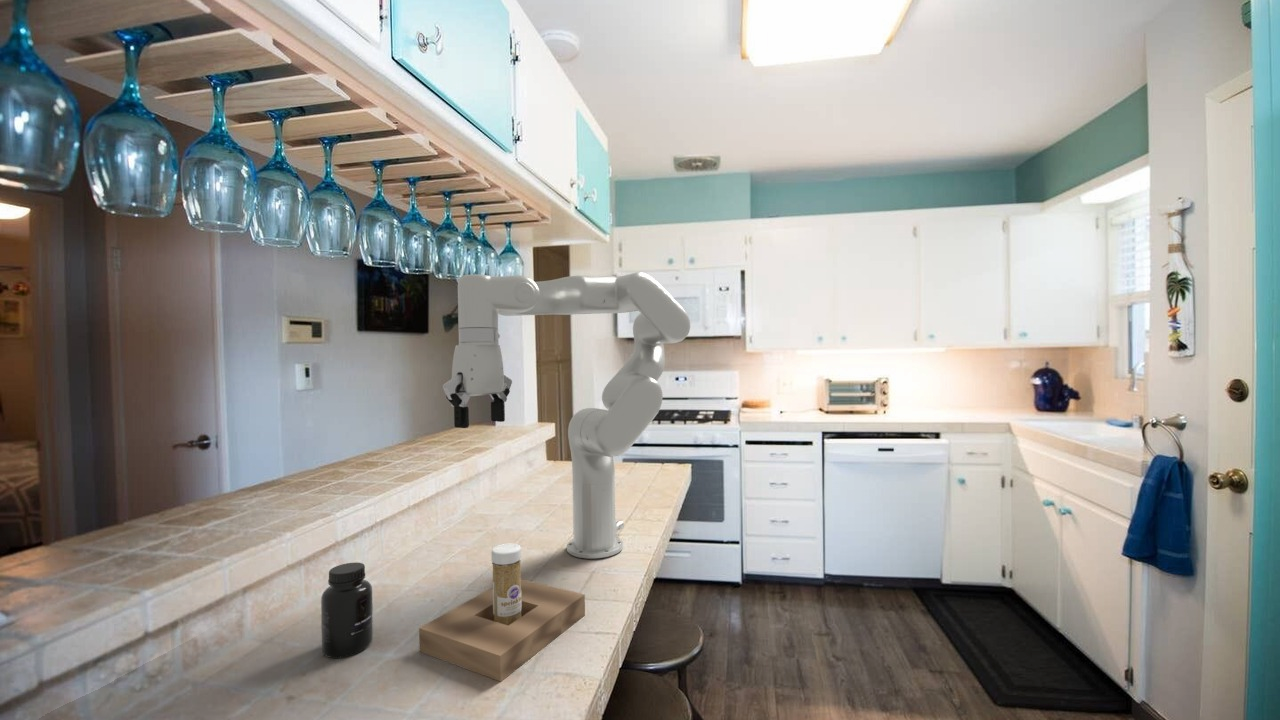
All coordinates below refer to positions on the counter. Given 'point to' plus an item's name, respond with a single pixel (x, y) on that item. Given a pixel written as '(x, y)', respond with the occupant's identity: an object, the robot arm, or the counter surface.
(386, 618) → the counter surface
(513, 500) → the counter surface
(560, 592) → the spice holder
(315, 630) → the counter surface
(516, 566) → the sprinkles bottle
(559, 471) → the counter surface
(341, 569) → the supplement bottle
